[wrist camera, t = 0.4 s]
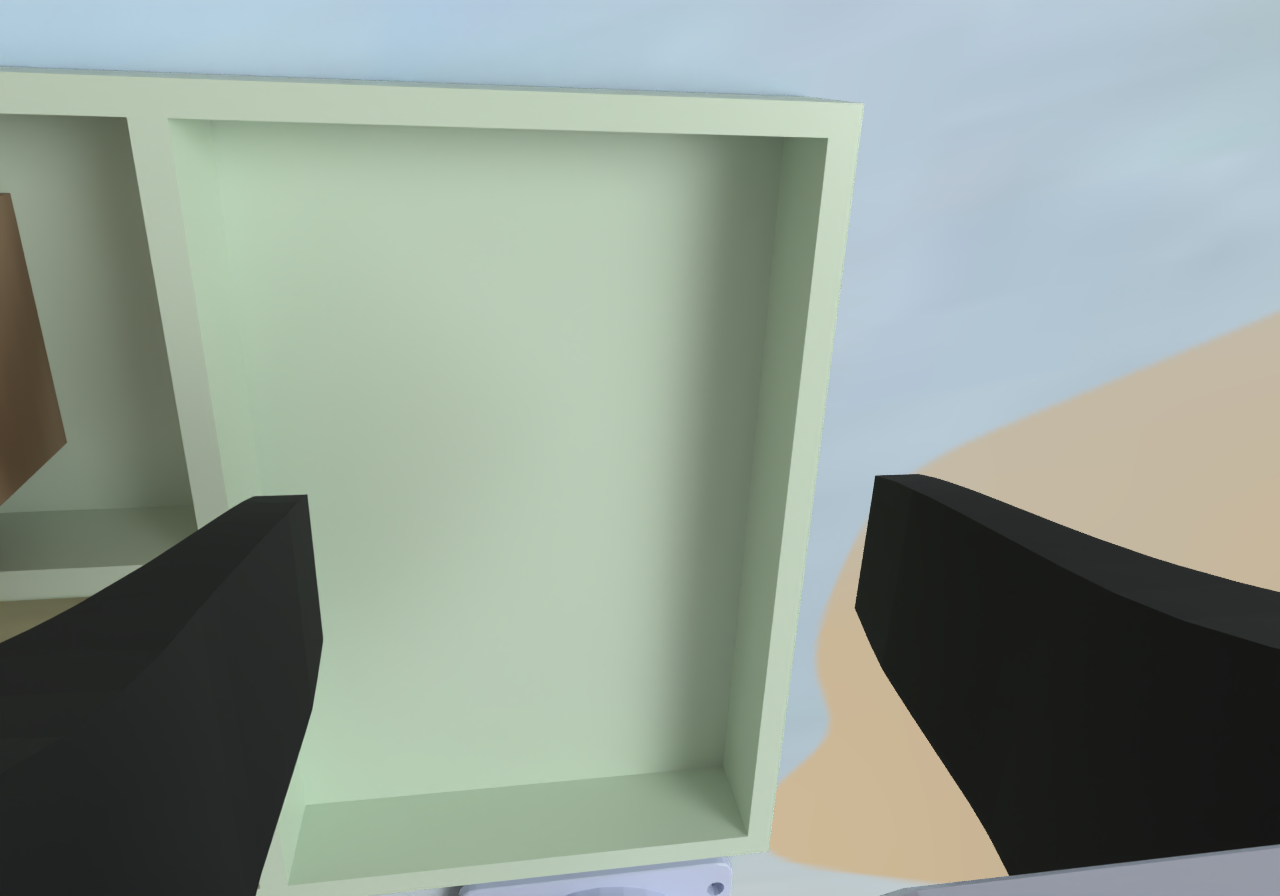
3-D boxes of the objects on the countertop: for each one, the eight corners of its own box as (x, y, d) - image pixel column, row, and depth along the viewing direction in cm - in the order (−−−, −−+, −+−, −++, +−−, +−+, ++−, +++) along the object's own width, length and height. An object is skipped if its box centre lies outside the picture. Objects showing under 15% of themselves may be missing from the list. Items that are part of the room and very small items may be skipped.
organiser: (737, 768, 26) (768, 851, 23) (-221, 858, 22) (-320, 971, 19) (807, 96, 19) (864, 103, 16) (-590, 43, 15) (-829, 41, 12)
